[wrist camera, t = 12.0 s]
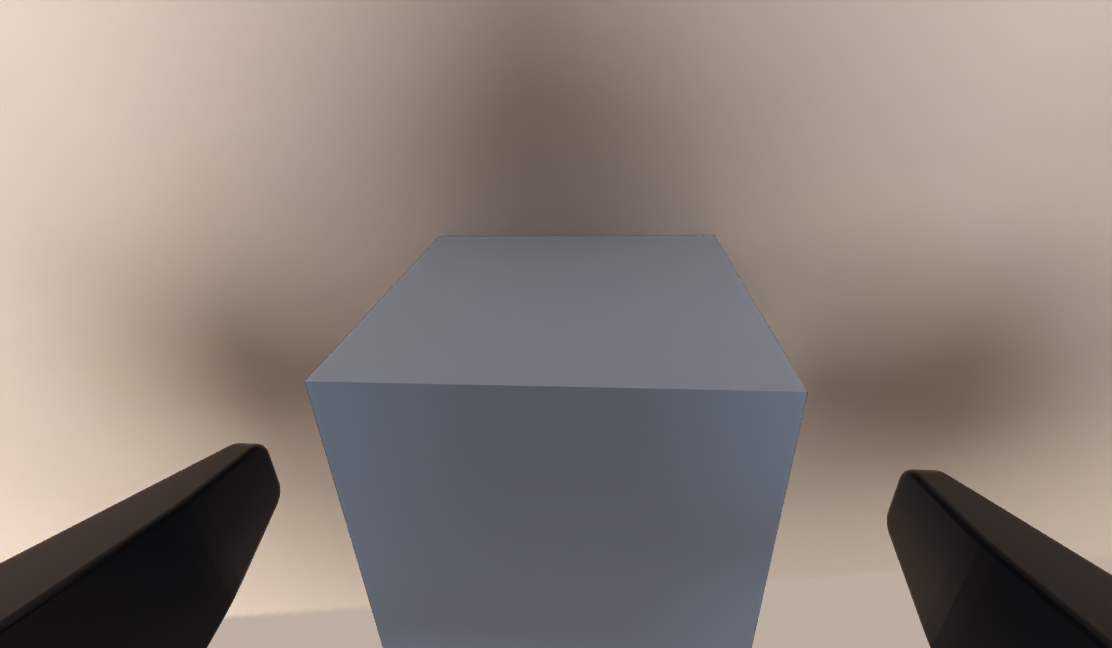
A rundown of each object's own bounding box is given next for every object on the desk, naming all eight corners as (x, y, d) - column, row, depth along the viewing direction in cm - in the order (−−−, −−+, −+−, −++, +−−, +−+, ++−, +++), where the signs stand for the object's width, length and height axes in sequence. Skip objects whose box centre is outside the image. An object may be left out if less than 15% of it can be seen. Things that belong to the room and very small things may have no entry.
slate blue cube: (713, 233, 9) (807, 391, 5) (690, 452, 12) (740, 694, 7) (440, 234, 10) (304, 381, 5) (469, 445, 12) (389, 669, 8)
